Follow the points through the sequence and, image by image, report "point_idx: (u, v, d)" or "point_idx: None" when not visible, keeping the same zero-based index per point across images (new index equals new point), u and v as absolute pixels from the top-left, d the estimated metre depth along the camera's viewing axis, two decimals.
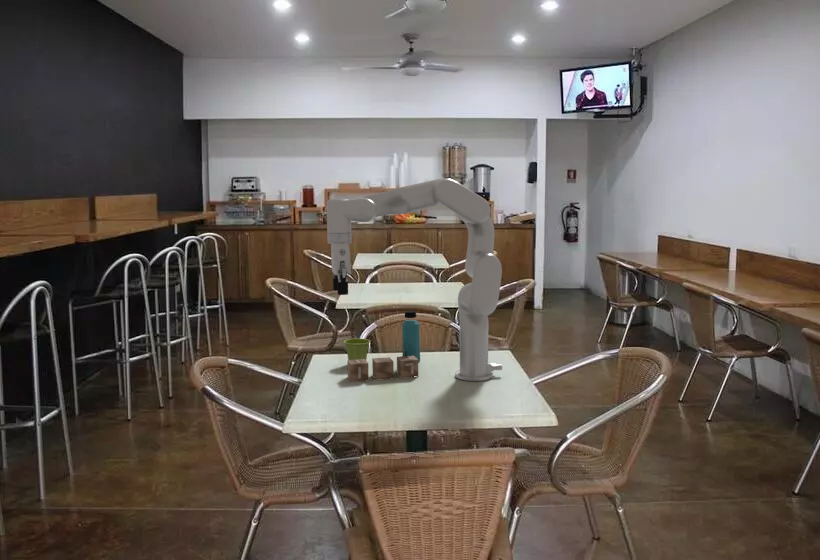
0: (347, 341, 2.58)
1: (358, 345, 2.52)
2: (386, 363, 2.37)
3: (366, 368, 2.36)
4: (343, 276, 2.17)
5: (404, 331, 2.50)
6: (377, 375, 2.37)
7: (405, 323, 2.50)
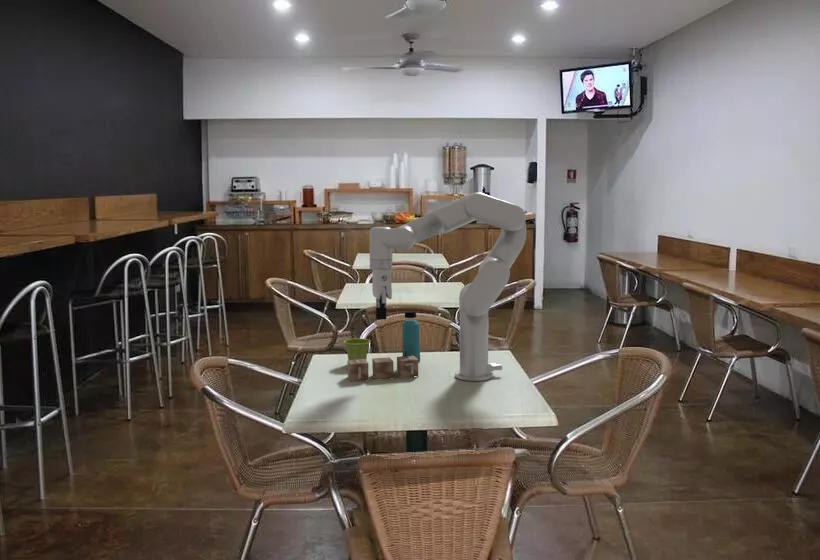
0: (347, 341, 2.58)
1: (358, 345, 2.52)
2: (386, 363, 2.37)
3: (366, 368, 2.36)
4: None
5: (404, 331, 2.50)
6: (377, 375, 2.37)
7: (405, 323, 2.50)
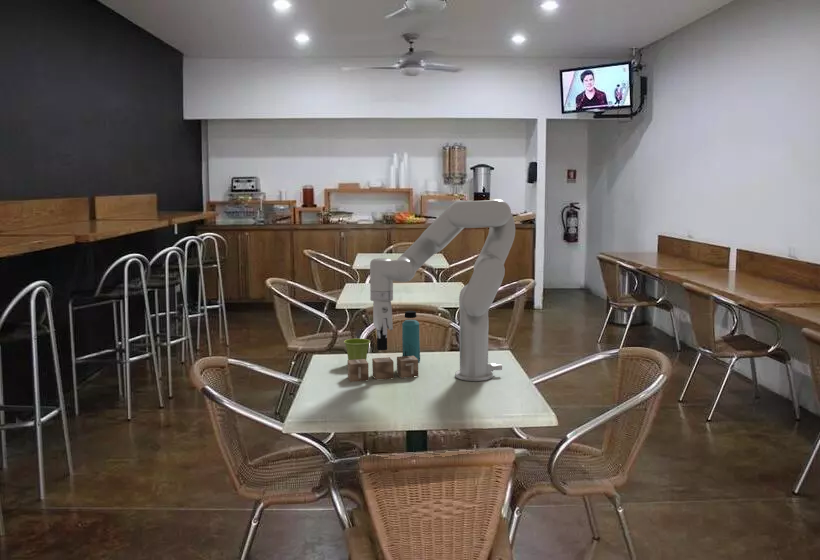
0: (347, 341, 2.58)
1: (358, 345, 2.52)
2: (386, 363, 2.37)
3: (366, 368, 2.36)
4: None
5: (404, 331, 2.50)
6: (377, 375, 2.37)
7: (405, 323, 2.50)
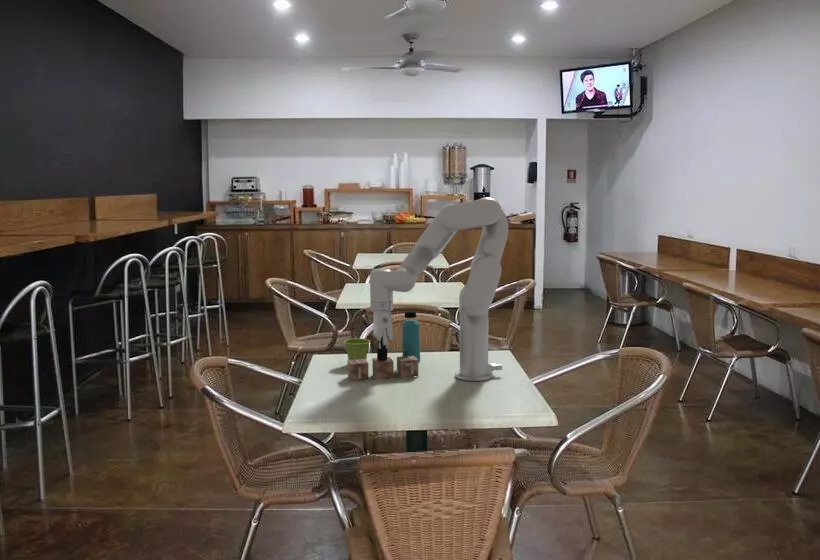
0: (347, 341, 2.58)
1: (358, 345, 2.52)
2: (386, 363, 2.37)
3: (366, 368, 2.36)
4: None
5: (404, 331, 2.50)
6: (377, 375, 2.37)
7: (405, 323, 2.50)
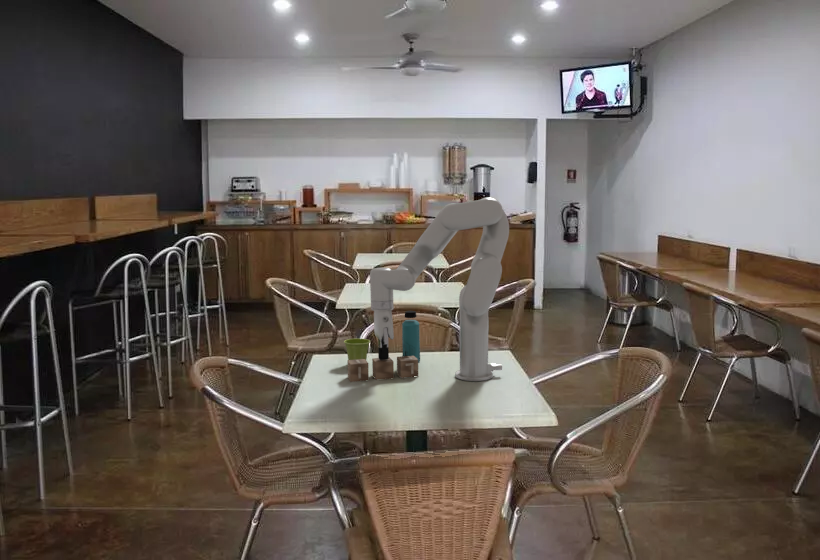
0: (347, 341, 2.58)
1: (358, 345, 2.52)
2: (386, 363, 2.37)
3: (366, 368, 2.36)
4: None
5: (404, 331, 2.50)
6: (377, 375, 2.37)
7: (405, 323, 2.50)
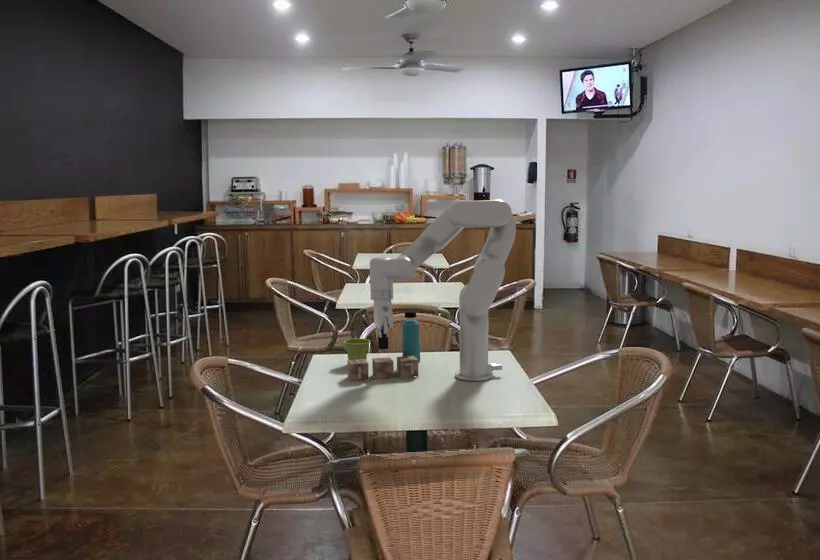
0: (347, 341, 2.58)
1: (358, 345, 2.52)
2: (386, 363, 2.37)
3: (366, 368, 2.36)
4: None
5: (404, 331, 2.50)
6: (377, 375, 2.37)
7: (405, 323, 2.50)
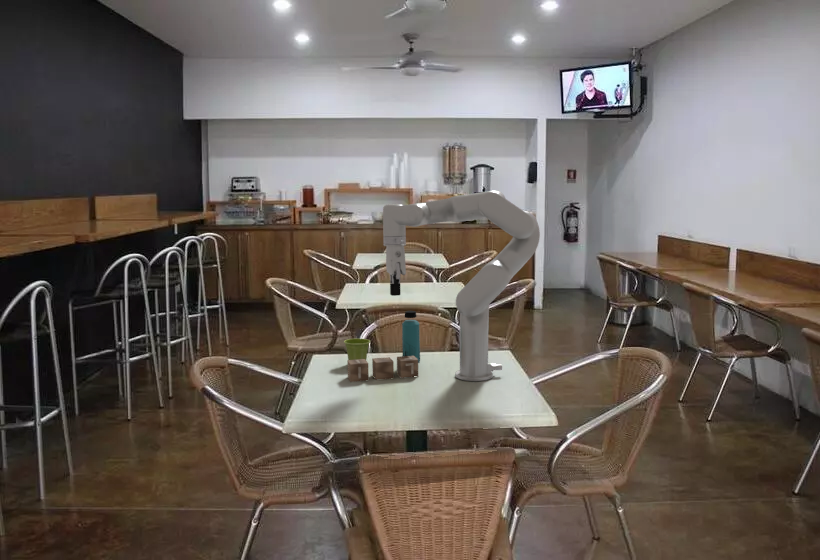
0: (347, 341, 2.58)
1: (358, 345, 2.52)
2: (386, 363, 2.37)
3: (366, 368, 2.36)
4: None
5: (404, 331, 2.50)
6: (377, 375, 2.37)
7: (405, 323, 2.50)
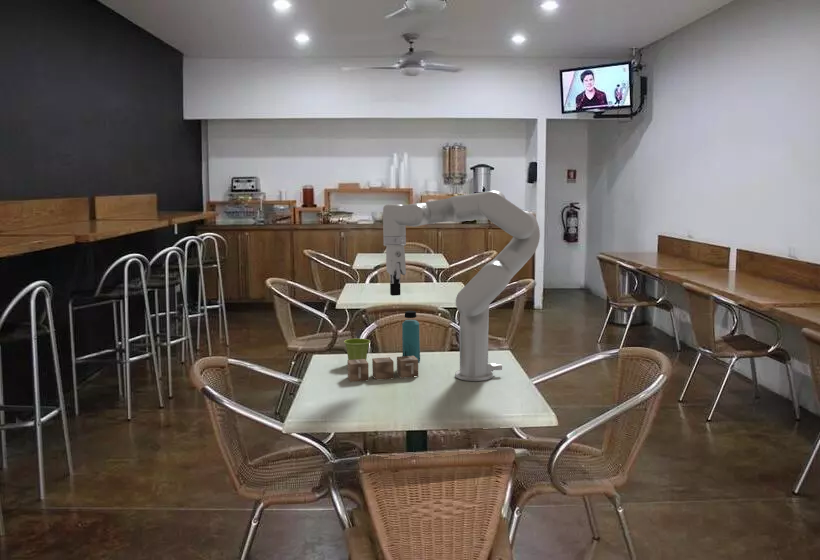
0: (347, 341, 2.58)
1: (358, 345, 2.52)
2: (386, 363, 2.37)
3: (366, 368, 2.36)
4: None
5: (404, 331, 2.50)
6: (377, 375, 2.37)
7: (405, 323, 2.50)
